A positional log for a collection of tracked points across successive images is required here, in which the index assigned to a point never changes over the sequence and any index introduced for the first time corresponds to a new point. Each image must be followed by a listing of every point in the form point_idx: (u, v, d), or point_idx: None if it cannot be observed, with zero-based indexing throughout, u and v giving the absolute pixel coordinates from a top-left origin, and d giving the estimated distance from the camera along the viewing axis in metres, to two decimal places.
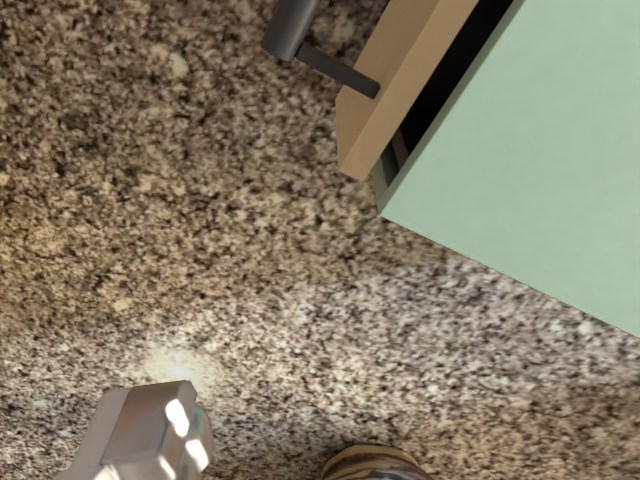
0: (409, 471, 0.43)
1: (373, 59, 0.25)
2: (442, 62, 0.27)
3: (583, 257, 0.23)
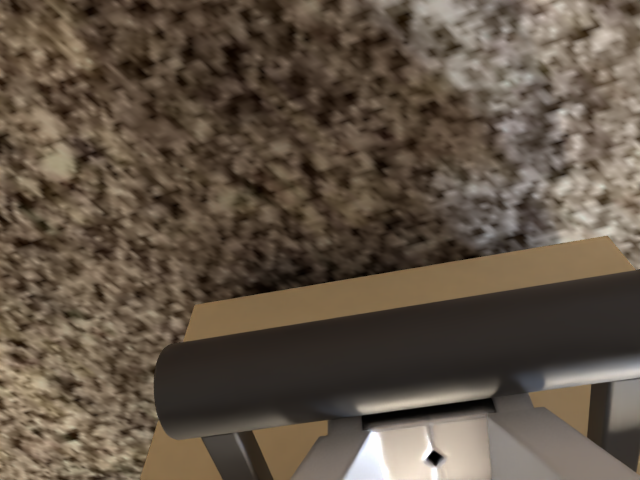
0: None
1: None
2: None
3: None
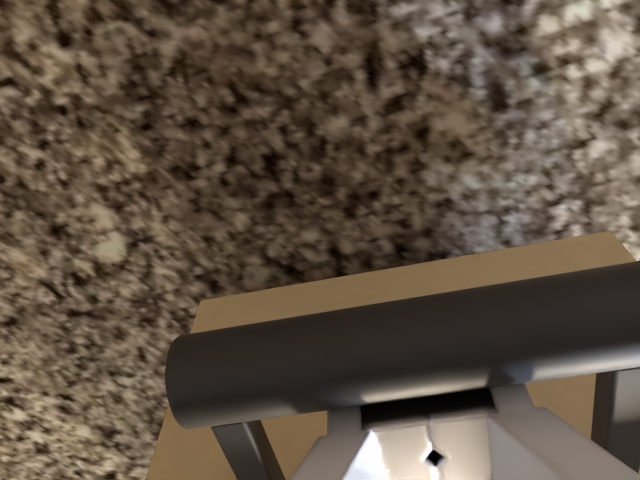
0: None
1: None
2: None
3: None
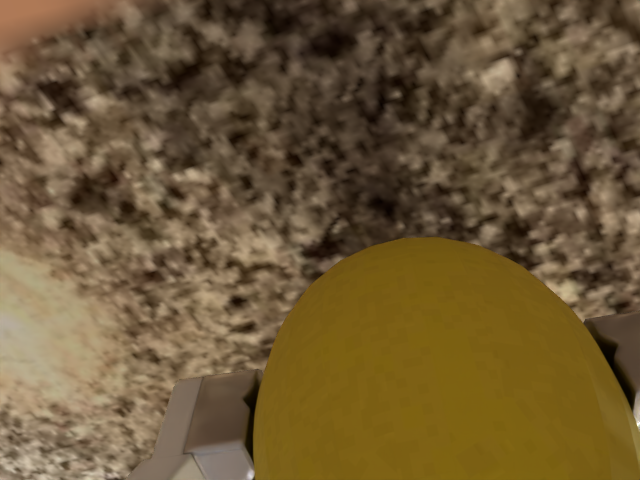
0: None
1: None
2: None
3: None
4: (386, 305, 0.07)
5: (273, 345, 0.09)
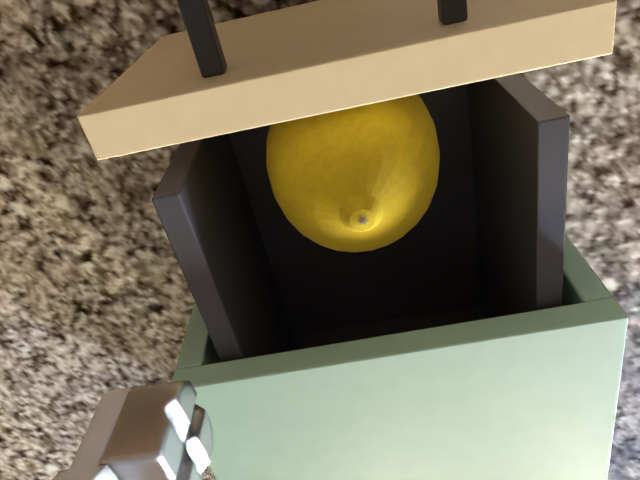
0: None
1: (242, 37, 0.17)
2: None
3: None
4: None
5: None
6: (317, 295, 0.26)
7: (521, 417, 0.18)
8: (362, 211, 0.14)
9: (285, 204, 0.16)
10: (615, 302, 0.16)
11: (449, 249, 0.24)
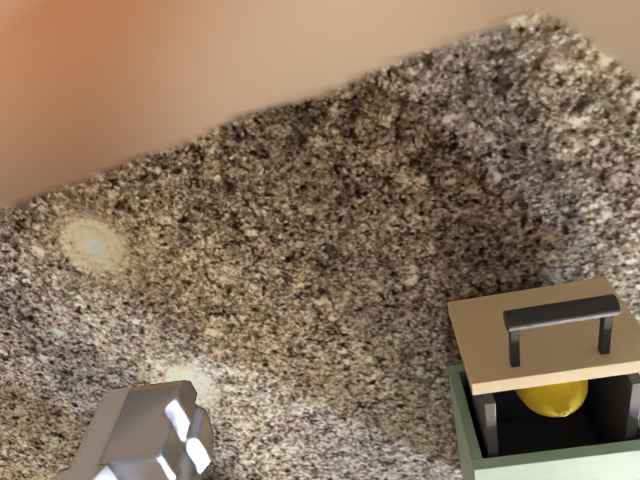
0: None
1: (504, 326, 0.41)
2: None
3: None
4: None
5: None
6: (497, 406, 0.50)
7: None
8: (565, 411, 0.38)
9: (527, 400, 0.40)
10: None
11: None
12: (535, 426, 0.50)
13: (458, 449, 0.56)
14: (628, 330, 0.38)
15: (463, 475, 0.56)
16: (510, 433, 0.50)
